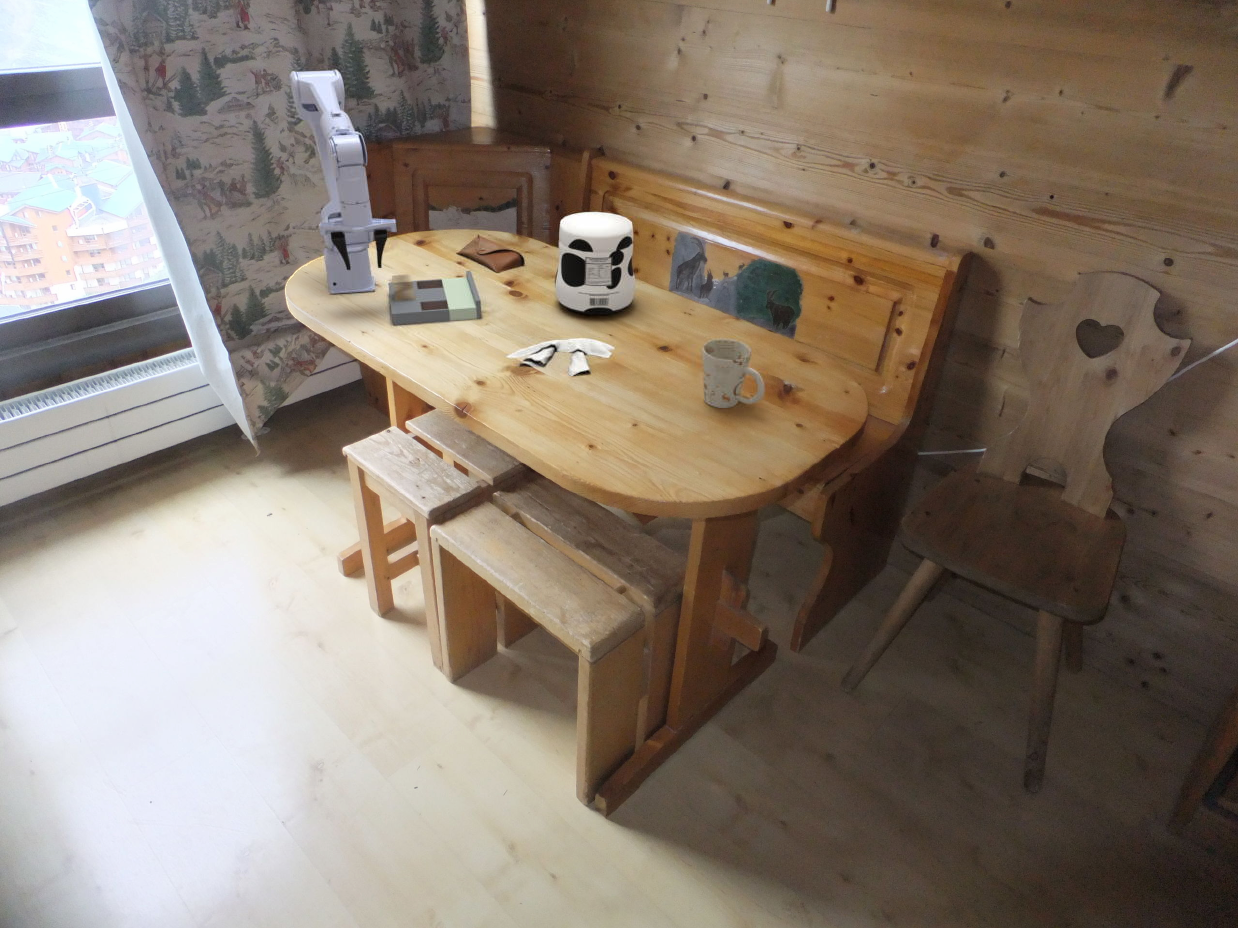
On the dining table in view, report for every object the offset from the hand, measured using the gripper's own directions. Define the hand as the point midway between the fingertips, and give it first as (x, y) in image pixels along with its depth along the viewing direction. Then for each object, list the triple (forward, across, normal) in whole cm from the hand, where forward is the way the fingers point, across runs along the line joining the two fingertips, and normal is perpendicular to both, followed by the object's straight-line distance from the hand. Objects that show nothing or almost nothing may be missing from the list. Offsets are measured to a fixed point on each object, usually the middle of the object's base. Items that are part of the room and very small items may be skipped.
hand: (364, 267), depth 164 cm
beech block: (+7, +7, 0) cm, 10 cm away
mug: (+10, +60, -53) cm, 81 cm away
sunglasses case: (+10, +28, +26) cm, 40 cm away
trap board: (+9, +12, 0) cm, 15 cm away
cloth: (+10, +34, -30) cm, 47 cm away
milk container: (+10, +47, -6) cm, 49 cm away
